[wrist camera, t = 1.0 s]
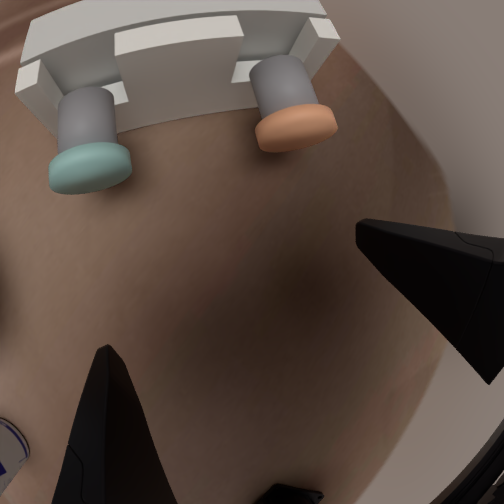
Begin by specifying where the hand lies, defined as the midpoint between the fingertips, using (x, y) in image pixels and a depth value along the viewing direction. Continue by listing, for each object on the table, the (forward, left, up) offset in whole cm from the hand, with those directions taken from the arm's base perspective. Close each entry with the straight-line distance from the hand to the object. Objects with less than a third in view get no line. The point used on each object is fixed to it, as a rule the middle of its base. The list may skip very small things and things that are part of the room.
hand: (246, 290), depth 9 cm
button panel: (+11, -12, -13) cm, 21 cm away
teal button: (+11, -3, -9) cm, 14 cm away
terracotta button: (+2, -11, -9) cm, 14 cm away
